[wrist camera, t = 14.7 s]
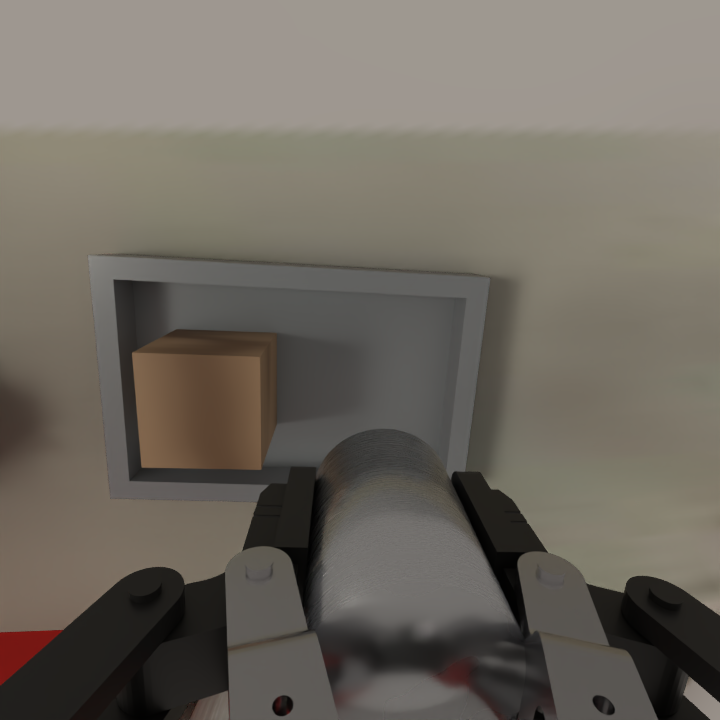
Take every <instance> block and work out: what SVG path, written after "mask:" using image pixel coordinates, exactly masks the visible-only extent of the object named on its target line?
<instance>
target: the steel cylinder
mask: <svg viewBox="0 0 720 720" xmlns="http://www.w3.org/2000/svg"><path fill="white" fill-rule="evenodd" d="M302 607H303V611H304V615H305V620H306V624H307V628H308V629H314V630H315V632H316V634H317V637H318V641H319V645H320V649H321V652H322V656H323V660H324V664H325V668H326V672H327V676H328V680H329V684H330V687H331V691H332V695H333V699H334V703H335V707H336V711H337V715H338V718H339V720H511V716H516V715H517V714H518V712H519V709H520V704H521V699H522V693H523V688H524V683H525V674H526V659H525V649H524V645H525V638H524V636H523V633H522V631H521V629H520V627H519V625H518V623H517V621H516V619H515V616H514V614H513V612H512V610H511V608H510V606H509V604H508V601H507V599H506V597H505V595H504V593H503V591H502V589H501V587H500V584H499V582H498V580H497V578H496V576H495V574H494V572H493V569H492V567H491V565H490V563H489V561H488V559H487V557H486V555H485V552H484V550H483V548H482V546H481V544H480V542H479V540H478V537H477V535H476V533H475V531H474V529H473V527H472V525H471V523H470V520H469V518H468V516H467V514H466V512H465V510H464V508H463V505H462V503H461V501H460V499H459V497H458V495H457V493H456V491H455V488H454V486H453V484H452V482H451V480H450V478H449V476H448V473H447V471H446V469H445V467H444V465H443V463H442V461H441V459H440V458H439V456H438V455H437V453H436V452H435V451H434V450H433V448H431V447H430V446H429V445H428V444H427V443H426V442H424V441H423V440H422V439H420V438H418V437H416V436H414V435H412V434H410V433H407V432H404V431H400V430H396V429H372V430H367V431H363V432H359V433H357V434H355V435H352V436H350V437H348V438H346V439H345V440H343V441H342V442H340V443H339V444H338V445H336V446H335V447H334V448H333V449H332V450H331V451H330V452H329V453H328V455H327V456H326V457H325V458H324V460H323V462H322V463H321V465H320V467H319V470H318V472H317V475H316V486H315V496H314V506H313V516H312V527H311V537H310V547H309V557H308V567H307V576H306V579H305V583H304V592H303V601H302Z"/></svg>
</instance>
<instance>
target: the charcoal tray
mask: <svg viewBox="0 0 720 720" xmlns="http://www.w3.org/2000/svg"><path fill="white" fill-rule="evenodd" d="M88 263H89V274H90V285H91V295H92V306H93V317H94V328H95V338H96V349H97V360H98V370H99V381H100V392H101V403H102V413H103V424H104V435H105V446H106V456H107V467H108V478H109V489H110V499H151V500H192V501H233V502H258V499H259V496H260V493H261V492H262V491H263V490H264V489H265V488H267V487H268V486H269V485H270V484H271V483H279V484H287V482H288V477H289V473H290V468H291V466H299V467H316V475H317V472H318V470H319V467H320V465H321V463H322V462H323V460H324V458H325V457H326V456H327V455H328V453H329V452H330V451H331V450H332V449H333V448H334V447H335V446H336V445H338V444H339V443H340V442H342V441H343V440H345V439H346V438H348V437H350V436H352V435H355V434H357V433H359V432H363V431H367V430H372V429H396V430H400V431H404V432H407V433H410V434H412V435H414V436H416V437H418V438H420V439H422V440H423V441H424V442H426V443H427V444H428V445H429V446H430V447H431V448H433V450H434V451H435V452H436V453H437V455H438V456H439V458H440V459H441V461H442V463H443V465H444V467H445V469H446V471H447V473H448V476H449V478H450V480H451V477H452V474H453V472H454V471H461V472H465V470H466V462H467V455H468V447H469V439H470V431H471V424H472V416H473V408H474V400H475V393H476V385H477V377H478V370H479V362H480V354H481V346H482V339H483V331H484V323H485V316H486V308H487V300H488V292H489V285H490V277H485V276H481V275H476V274H464V273H446V272H428V271H411V270H393V269H375V268H358V267H340V266H323V265H305V264H287V263H270V262H252V261H234V260H217V259H199V258H181V257H164V256H146V255H128V254H99V255H88ZM176 329H187V330H215V331H242V332H269V333H277V425H276V428H275V431H274V434H273V437H272V440H271V443H270V446H269V449H268V451H267V454H266V457H265V460H264V463H263V466H262V469H261V470H243V469H190V468H142V466H141V454H140V442H139V430H138V419H137V407H136V395H135V383H134V371H133V359H132V352H134V351H136V350H138V349H140V348H142V347H144V346H145V345H147V344H149V343H151V342H153V341H155V340H157V339H159V338H161V337H163V336H164V335H166V334H168V333H170V332H172V331H174V330H176Z"/></svg>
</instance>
